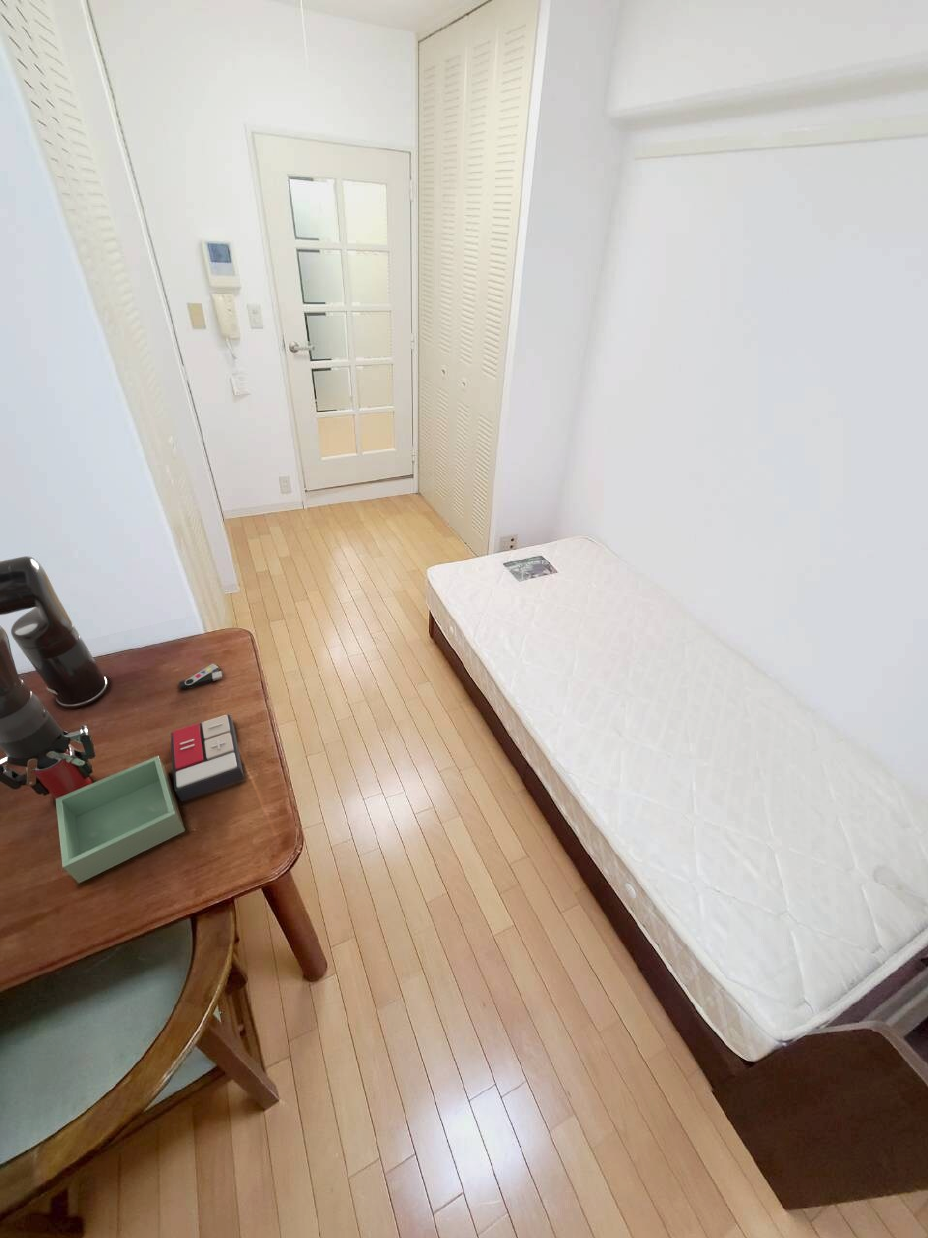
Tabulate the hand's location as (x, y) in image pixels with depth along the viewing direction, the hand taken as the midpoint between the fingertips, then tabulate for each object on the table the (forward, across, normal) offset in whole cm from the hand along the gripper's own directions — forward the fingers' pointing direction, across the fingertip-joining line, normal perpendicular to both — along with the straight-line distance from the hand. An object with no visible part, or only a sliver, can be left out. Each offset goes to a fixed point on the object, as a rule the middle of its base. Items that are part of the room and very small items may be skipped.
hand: (67, 782), depth 90 cm
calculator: (+3, -22, +6) cm, 23 cm away
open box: (+3, -7, +12) cm, 14 cm away
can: (+3, 0, 0) cm, 3 cm away
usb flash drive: (+3, -26, -17) cm, 31 cm away
